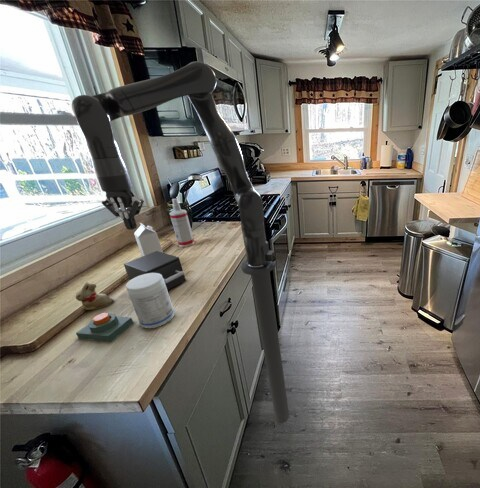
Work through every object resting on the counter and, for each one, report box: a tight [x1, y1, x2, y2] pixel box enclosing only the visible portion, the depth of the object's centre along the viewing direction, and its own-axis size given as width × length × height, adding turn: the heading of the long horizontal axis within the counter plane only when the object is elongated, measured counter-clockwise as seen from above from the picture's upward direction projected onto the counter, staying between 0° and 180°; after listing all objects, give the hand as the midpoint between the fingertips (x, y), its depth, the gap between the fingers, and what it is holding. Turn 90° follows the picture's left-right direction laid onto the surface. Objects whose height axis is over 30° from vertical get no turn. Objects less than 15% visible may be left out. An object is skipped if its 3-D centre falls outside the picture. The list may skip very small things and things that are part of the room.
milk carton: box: [133, 222, 164, 257], centre depth 117 cm, size 7×7×19 cm
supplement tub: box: [125, 273, 175, 329], centre depth 80 cm, size 10×10×15 cm
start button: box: [92, 312, 110, 325], centre depth 77 cm, size 4×4×2 cm
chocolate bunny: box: [75, 281, 114, 311], centre depth 89 cm, size 6×8×10 cm
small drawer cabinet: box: [123, 251, 187, 291], centre depth 101 cm, size 15×13×11 cm
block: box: [75, 312, 134, 343], centre depth 78 cm, size 11×8×4 cm
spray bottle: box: [169, 198, 195, 248], centre depth 135 cm, size 8×8×25 cm
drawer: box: [149, 260, 187, 291], centre depth 99 cm, size 18×11×9 cm, turn 62°
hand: (132, 228), depth 83 cm, fingers closed
